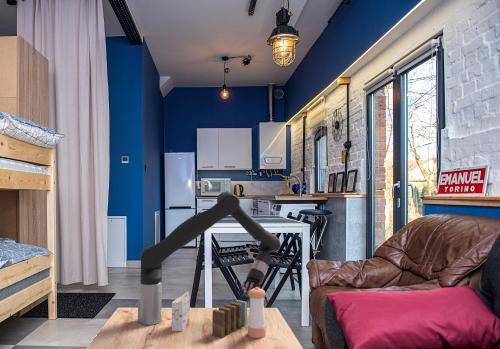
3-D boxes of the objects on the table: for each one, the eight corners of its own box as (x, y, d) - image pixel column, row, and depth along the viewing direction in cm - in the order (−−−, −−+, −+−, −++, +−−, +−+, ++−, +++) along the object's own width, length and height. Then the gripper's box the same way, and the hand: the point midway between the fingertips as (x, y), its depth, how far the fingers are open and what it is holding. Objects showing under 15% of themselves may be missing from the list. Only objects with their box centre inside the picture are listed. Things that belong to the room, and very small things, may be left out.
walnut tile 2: (232, 325, 165) (232, 302, 166) (241, 327, 163) (241, 304, 163) (229, 326, 164) (230, 303, 164) (239, 328, 161) (239, 305, 162)
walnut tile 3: (226, 328, 162) (226, 304, 163) (236, 330, 159) (236, 306, 160) (224, 329, 161) (224, 305, 161) (233, 331, 158) (234, 307, 158)
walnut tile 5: (214, 334, 155) (215, 309, 156) (224, 336, 153) (224, 311, 153) (212, 335, 154) (212, 310, 154) (222, 338, 151) (222, 312, 152)
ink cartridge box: (178, 323, 167) (179, 289, 168) (189, 324, 166) (190, 290, 167) (171, 330, 159) (171, 295, 159) (182, 331, 158) (182, 295, 158)
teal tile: (237, 322, 169) (237, 299, 169) (246, 324, 166) (246, 301, 167) (235, 323, 168) (235, 300, 168) (244, 326, 165) (244, 302, 165)
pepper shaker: (251, 339, 150) (252, 290, 151) (245, 332, 157) (245, 285, 158) (268, 336, 153) (268, 288, 154) (261, 330, 160) (261, 284, 161)
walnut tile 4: (220, 331, 159) (220, 306, 159) (230, 333, 156) (230, 308, 156) (218, 332, 157) (218, 307, 158) (228, 334, 155) (228, 309, 155)
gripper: (242, 266, 181) (227, 298, 170) (266, 269, 174) (252, 303, 163) (248, 275, 185) (233, 307, 174) (272, 279, 178) (258, 312, 167)
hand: (242, 305), depth 169 cm, fingers closed
